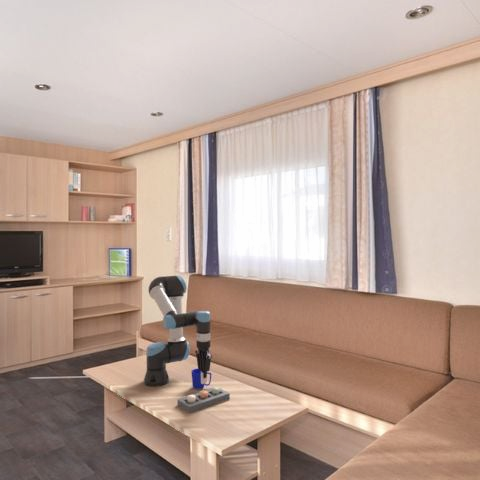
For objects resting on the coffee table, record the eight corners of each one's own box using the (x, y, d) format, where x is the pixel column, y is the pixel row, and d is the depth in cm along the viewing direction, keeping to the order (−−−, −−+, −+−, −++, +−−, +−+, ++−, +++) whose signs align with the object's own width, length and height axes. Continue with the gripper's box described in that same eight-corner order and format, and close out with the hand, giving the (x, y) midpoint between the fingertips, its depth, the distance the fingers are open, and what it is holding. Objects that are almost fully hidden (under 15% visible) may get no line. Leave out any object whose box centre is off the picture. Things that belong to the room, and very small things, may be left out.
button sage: (210, 393, 217) (210, 388, 217) (216, 391, 220) (216, 386, 220) (214, 396, 214) (214, 390, 214) (221, 394, 217) (221, 388, 217)
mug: (209, 391, 226) (209, 374, 226) (189, 389, 229) (189, 372, 228) (213, 385, 234) (213, 369, 234) (194, 384, 237) (193, 368, 237)
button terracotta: (198, 397, 212) (198, 392, 212) (205, 395, 215) (204, 390, 215) (202, 400, 209) (202, 394, 209) (209, 398, 212) (209, 392, 212)
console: (177, 405, 208) (177, 399, 208) (216, 392, 225) (216, 386, 225) (189, 412, 199) (189, 407, 199) (229, 398, 216) (229, 393, 216)
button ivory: (185, 401, 207) (185, 396, 207) (192, 399, 210) (192, 394, 210) (190, 404, 204) (190, 398, 204) (197, 402, 207) (197, 396, 207)
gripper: (191, 338, 214) (191, 381, 215) (204, 344, 204) (204, 388, 205) (202, 336, 219) (202, 378, 219) (216, 341, 209) (216, 384, 209)
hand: (203, 383), depth 212 cm, fingers closed
